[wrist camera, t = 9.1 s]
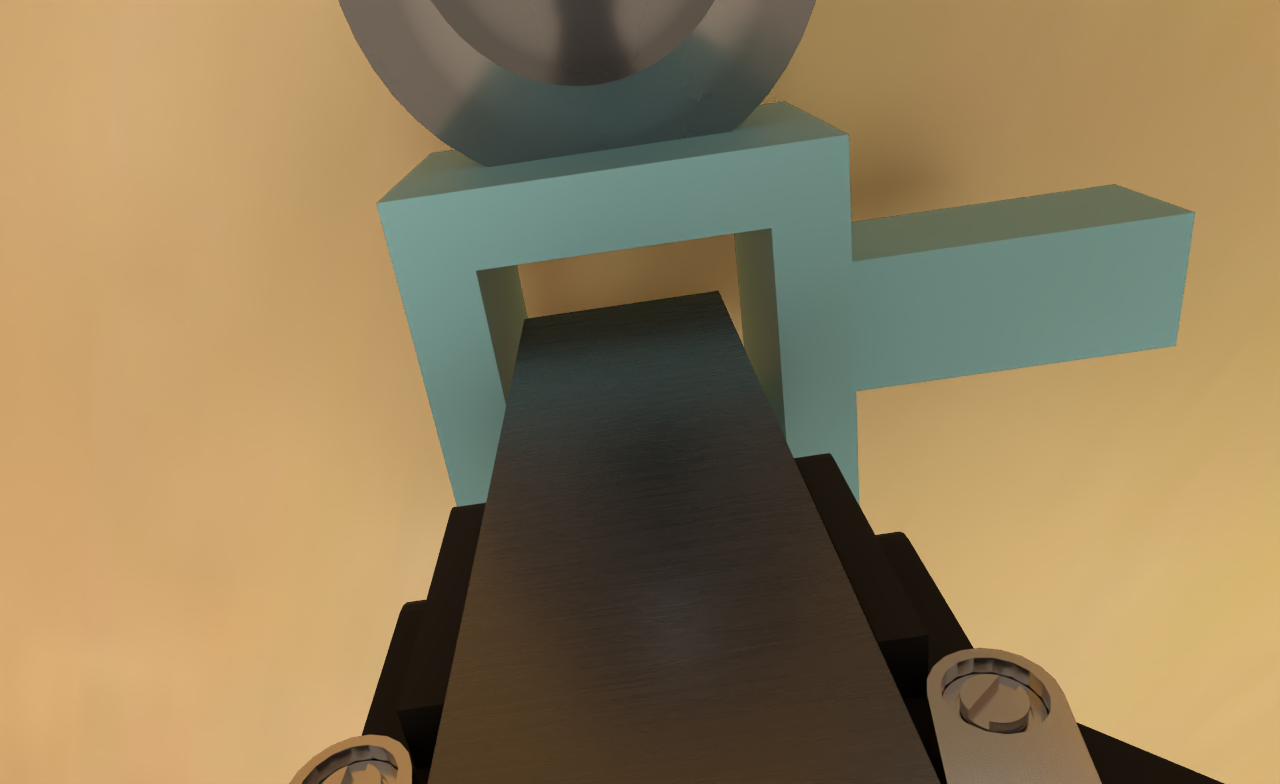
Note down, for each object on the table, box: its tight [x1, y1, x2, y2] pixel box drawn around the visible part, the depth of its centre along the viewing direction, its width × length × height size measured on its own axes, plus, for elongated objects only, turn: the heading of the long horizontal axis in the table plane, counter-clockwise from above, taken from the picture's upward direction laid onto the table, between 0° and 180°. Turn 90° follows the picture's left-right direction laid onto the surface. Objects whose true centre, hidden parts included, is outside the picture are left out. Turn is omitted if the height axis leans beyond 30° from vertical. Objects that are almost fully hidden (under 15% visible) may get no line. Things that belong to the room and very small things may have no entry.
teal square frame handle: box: [376, 102, 1195, 507], centre depth 21 cm, size 17×9×6 cm, turn 98°
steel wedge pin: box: [428, 291, 940, 784], centre depth 10 cm, size 4×4×18 cm
